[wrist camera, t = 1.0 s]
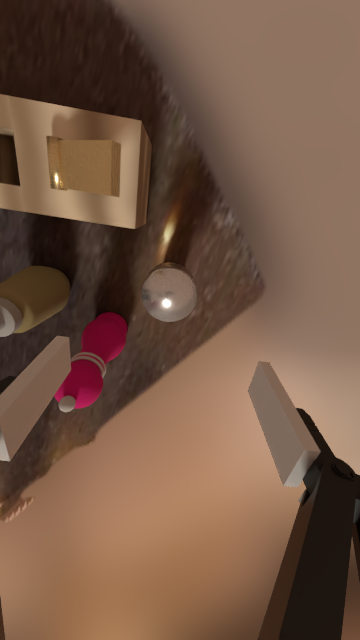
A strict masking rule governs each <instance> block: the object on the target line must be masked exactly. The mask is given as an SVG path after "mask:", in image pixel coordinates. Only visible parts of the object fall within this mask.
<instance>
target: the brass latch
mask: <svg viewBox="0 0 360 640" xmlns="http://www.w3.org/2000/svg"><path fill="white" fill-rule="evenodd" d="M46 142H47V153H48V165H49V177H50V188H52V189H58V190H64V191H67V189H71V190H77V191H83V192H89V193H96V194H102V195H108V196H114V197H119V196H120V163H121V144H120V143H118V142H115V141H113V140H63V139H61V138H58V137H54V136H46Z"/></svg>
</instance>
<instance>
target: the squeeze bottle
mask: <svg viewBox="0 0 360 640" xmlns="http://www.w3.org/2000/svg"><path fill="white" fill-rule="evenodd" d="M69 293H70V283H69V280H68V278H67V277H66V276H65V274H63V273H62V272H61V271H59V270H57V269H54V268H51V267H45V266H29V267H27V268H25V269H23V270H21V271H20V272H18V273H17V274H15V275H13V276H12V277H10V278H8V279H7V280H5V281H3V282H2V283H0V337H4V336H8V335H10V334H12V333H23V332H25V331H27V330H29V329H31V328H33V327H34V326H36V325H38V324H39V323H41V322H43V321H44V320H46V319H48V318H49V317H51V316H53V315H54V314H56V313H57V312H59V311H61V310H62V309H63V308H64V307H65V305H66V304H67V302H68V297H69Z"/></svg>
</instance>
